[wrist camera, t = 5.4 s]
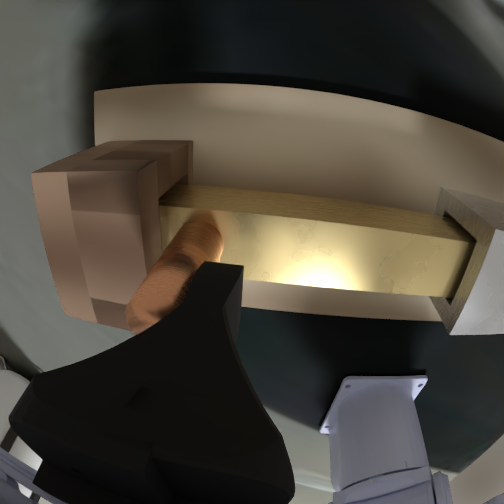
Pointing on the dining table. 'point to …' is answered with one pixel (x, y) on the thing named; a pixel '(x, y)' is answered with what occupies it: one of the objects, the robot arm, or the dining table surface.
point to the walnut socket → (106, 221)
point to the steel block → (475, 266)
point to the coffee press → (3, 401)
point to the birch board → (311, 163)
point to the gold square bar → (298, 246)
